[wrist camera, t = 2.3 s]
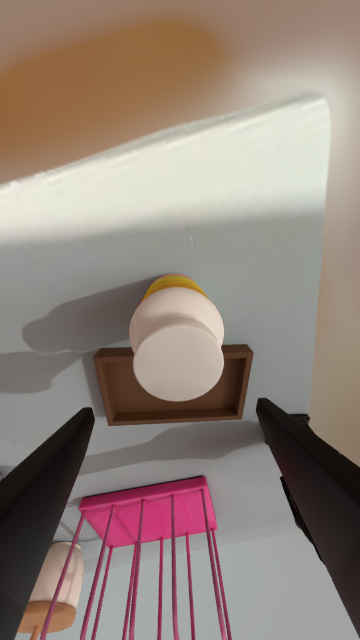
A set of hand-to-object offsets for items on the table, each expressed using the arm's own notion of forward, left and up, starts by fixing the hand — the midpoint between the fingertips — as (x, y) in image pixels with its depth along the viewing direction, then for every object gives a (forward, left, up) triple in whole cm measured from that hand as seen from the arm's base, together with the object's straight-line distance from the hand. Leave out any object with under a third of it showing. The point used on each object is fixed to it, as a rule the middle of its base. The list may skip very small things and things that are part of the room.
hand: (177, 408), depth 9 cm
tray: (0, +10, -13) cm, 16 cm away
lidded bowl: (+27, +59, -13) cm, 66 cm away
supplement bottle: (0, -2, -13) cm, 14 cm away
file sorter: (+5, +44, -13) cm, 46 cm away
